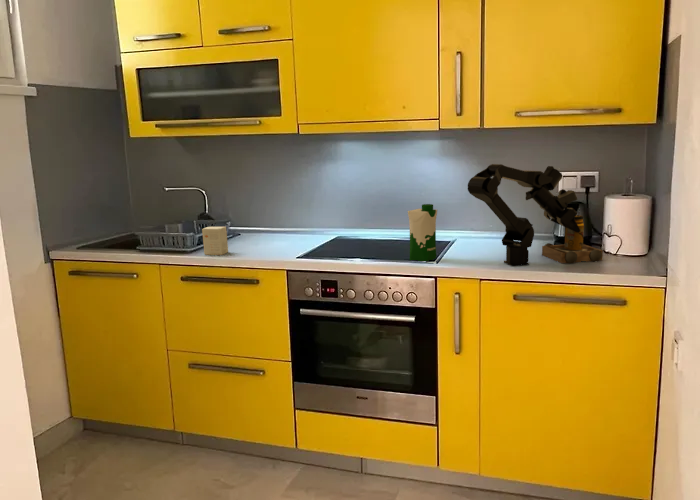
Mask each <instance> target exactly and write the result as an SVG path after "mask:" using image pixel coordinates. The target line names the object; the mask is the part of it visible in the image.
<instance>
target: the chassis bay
mask: <svg viewBox="0 0 700 500" xmlns="http://www.w3.org/2000/svg"><path fill="white" fill-rule="evenodd" d="M541 247H542V248H541V256H542V257H545V258H547V257H548V259H551V260H552V259H553V261H555V262H557V261H558V262H557V263H560V264H574V263H582V262H581V261H586V262H595V261H597V262H599V261H603V253H604V250H602V249H600V248H596V247H593V246H591V245H587V244H585V243H583V248H582V249H585V250H587V251H576V252H572V251H569V252H565V251H561V250H558V249H555V248H565V243H564V244H553V243H550V242H549V243H545V244H544V245H542V246H541Z"/></svg>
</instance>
